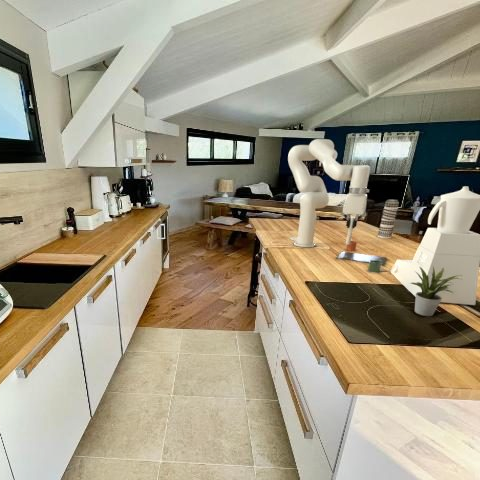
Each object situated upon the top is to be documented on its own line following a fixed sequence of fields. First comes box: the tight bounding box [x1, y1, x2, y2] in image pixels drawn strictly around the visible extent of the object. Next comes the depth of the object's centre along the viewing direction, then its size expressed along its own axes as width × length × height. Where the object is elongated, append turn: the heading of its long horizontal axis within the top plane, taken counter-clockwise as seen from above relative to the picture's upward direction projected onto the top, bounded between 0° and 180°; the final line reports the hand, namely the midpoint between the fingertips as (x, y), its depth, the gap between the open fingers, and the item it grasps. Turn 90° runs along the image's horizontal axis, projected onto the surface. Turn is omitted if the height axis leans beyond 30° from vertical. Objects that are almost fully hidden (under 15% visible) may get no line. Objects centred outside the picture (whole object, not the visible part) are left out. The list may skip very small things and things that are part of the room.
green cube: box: [367, 260, 382, 273], centre depth 146 cm, size 5×5×5 cm
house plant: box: [410, 267, 463, 317], centre depth 102 cm, size 14×14×16 cm
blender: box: [389, 185, 480, 306], centre depth 121 cm, size 33×18×40 cm, turn 166°
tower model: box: [377, 199, 400, 239], centre depth 213 cm, size 9×9×25 cm
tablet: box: [336, 251, 387, 266], centre depth 166 cm, size 22×16×1 cm
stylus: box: [345, 216, 356, 246], centre depth 166 cm, size 2×2×15 cm
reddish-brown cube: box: [346, 240, 358, 252], centre depth 184 cm, size 5×5×5 cm
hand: (350, 227), depth 165 cm, fingers closed on stylus, 2 cm apart
